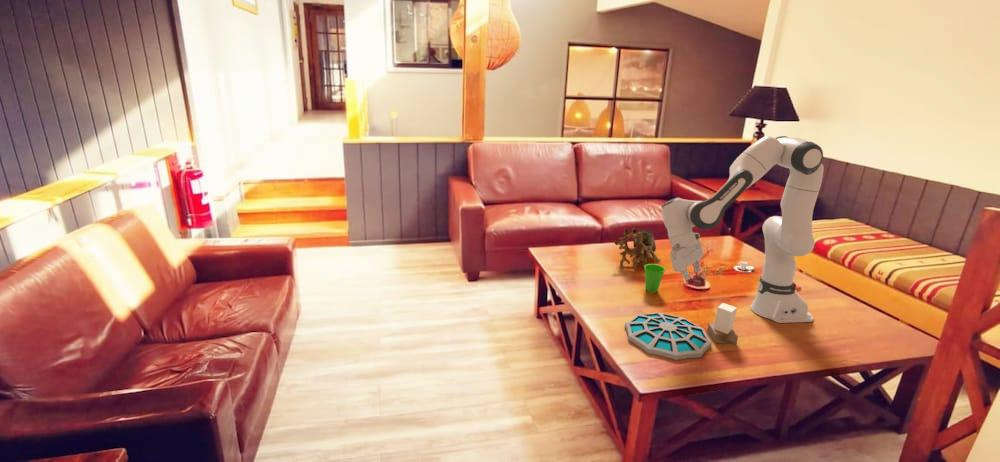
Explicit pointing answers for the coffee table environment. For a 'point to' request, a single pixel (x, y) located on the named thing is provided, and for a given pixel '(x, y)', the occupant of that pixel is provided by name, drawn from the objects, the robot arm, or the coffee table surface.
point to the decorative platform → (667, 336)
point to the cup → (653, 276)
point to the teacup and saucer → (744, 267)
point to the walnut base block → (722, 335)
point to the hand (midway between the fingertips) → (693, 275)
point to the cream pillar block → (725, 318)
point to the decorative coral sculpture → (638, 246)
